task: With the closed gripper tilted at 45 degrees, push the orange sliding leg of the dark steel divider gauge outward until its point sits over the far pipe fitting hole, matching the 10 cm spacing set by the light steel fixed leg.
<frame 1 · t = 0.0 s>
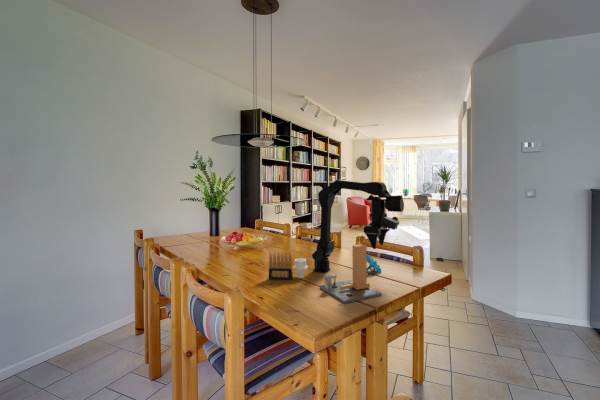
hand: (378, 246, 125), 15 cm above the table, tool pointing down, fingers open, 9 cm apart
ammunition clip: (280, 279, 130), on the table
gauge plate: (359, 289, 115), on the table
pipe fitting: (300, 277, 132), on the table
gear: (373, 271, 140), on the table
sliding leg: (353, 267, 113), point 10 cm above the table, slide at 0.0 cm
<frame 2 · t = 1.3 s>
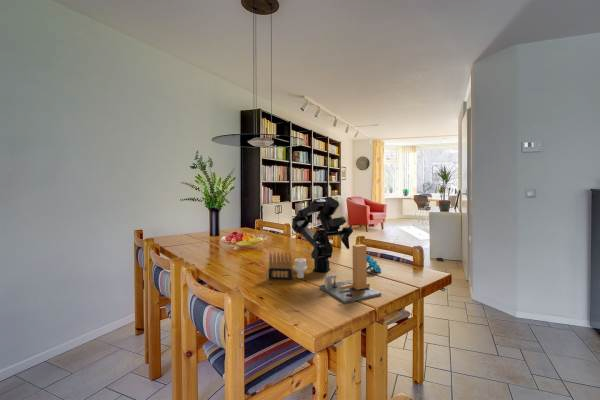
hand: (340, 249, 127), 13 cm above the table, tool tilted 45°, fingers open, 8 cm apart
nothing on the table moved.
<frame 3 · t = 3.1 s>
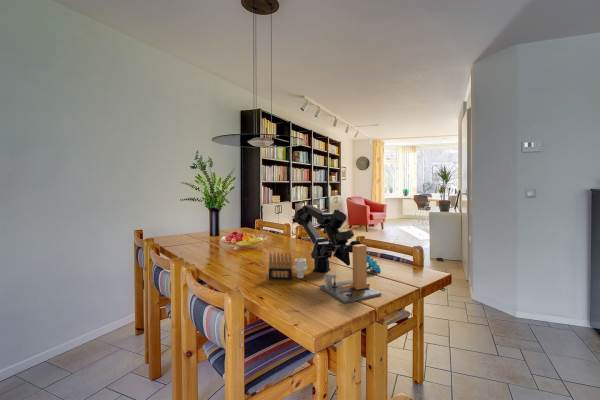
hand: (349, 265, 121), 8 cm above the table, tool tilted 45°, fingers closed
nothing on the table moved.
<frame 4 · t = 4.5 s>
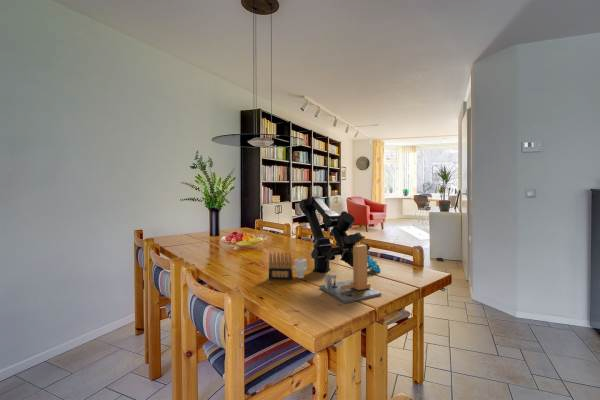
hand: (357, 269, 116), 8 cm above the table, tool tilted 45°, fingers closed, pressing on sliding leg
sliding leg: (354, 267, 113), point 10 cm above the table, slide at 0.4 cm, touching gripper
everything else where it was.
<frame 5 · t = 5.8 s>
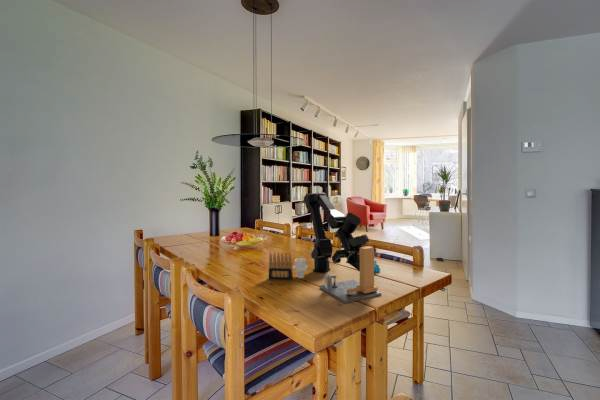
hand: (363, 272, 112), 8 cm above the table, tool tilted 45°, fingers closed
sliding leg: (360, 269, 109), point 10 cm above the table, slide at 4.5 cm
everything else where it was.
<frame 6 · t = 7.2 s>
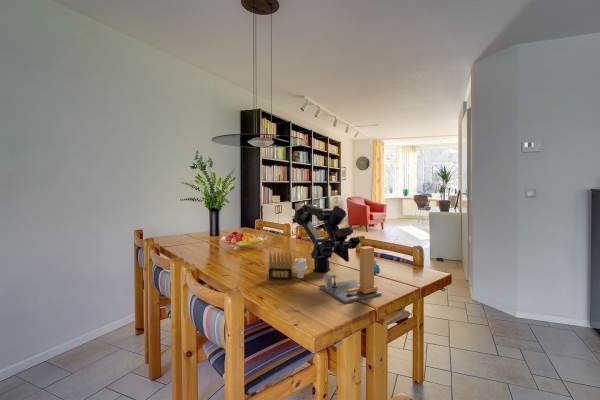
hand: (347, 261, 122), 10 cm above the table, tool tilted 45°, fingers closed
nothing on the table moved.
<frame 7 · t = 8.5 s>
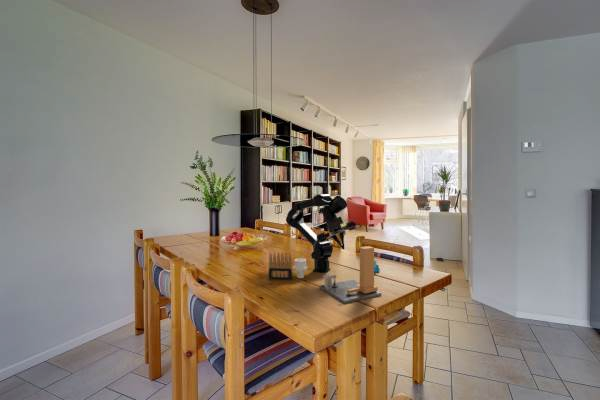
hand: (343, 249, 130), 13 cm above the table, tool tilted 30°, fingers closed
nothing on the table moved.
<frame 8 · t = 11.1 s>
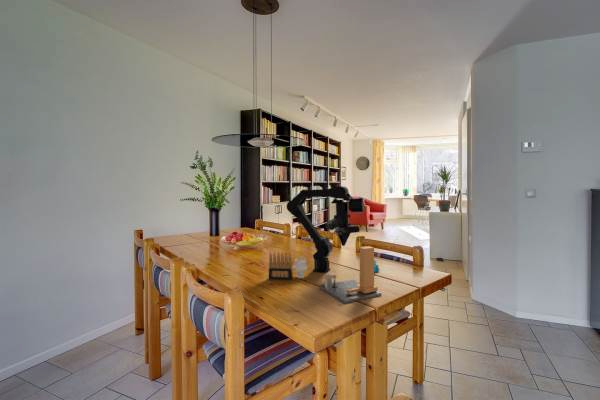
hand: (343, 245, 137), 13 cm above the table, tool pointing down, fingers closed
at the end: sliding leg slide at 4.5 cm; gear moved 1.1 cm from its start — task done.
